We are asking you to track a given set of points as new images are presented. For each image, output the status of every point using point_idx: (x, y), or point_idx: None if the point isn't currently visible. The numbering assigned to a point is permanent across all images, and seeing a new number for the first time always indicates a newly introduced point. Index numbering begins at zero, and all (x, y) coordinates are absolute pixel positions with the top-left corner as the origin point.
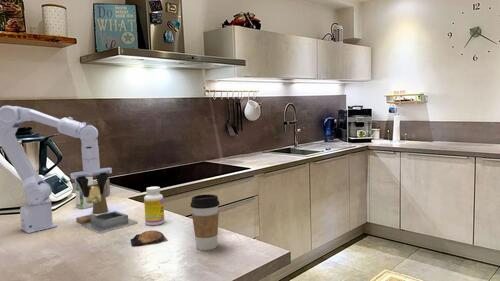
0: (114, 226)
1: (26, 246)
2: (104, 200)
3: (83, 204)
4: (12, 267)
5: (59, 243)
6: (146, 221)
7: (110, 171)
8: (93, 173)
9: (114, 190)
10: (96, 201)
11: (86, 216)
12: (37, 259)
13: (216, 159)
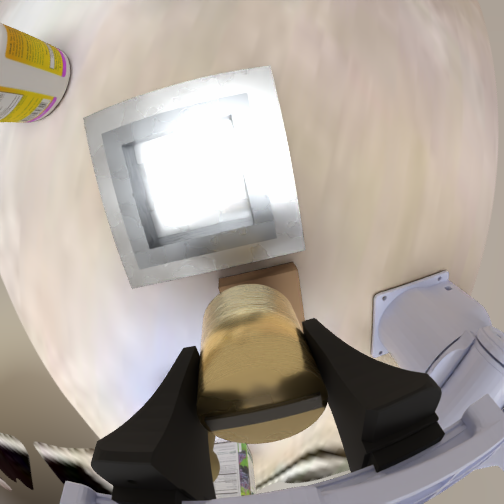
0: (189, 98)
1: (471, 136)
2: None
3: (237, 451)
4: (477, 21)
5: (409, 76)
6: (65, 65)
7: (73, 497)
8: (317, 489)
9: None
10: (241, 289)
11: None
12: (447, 13)
13: (8, 488)
